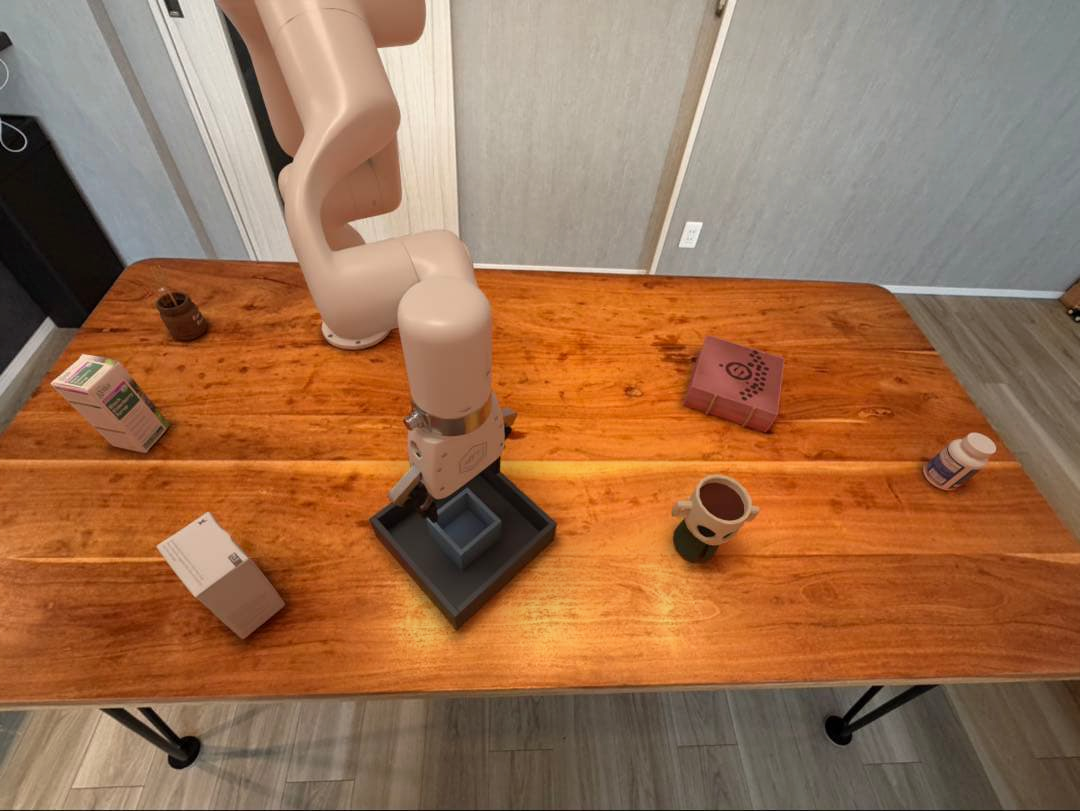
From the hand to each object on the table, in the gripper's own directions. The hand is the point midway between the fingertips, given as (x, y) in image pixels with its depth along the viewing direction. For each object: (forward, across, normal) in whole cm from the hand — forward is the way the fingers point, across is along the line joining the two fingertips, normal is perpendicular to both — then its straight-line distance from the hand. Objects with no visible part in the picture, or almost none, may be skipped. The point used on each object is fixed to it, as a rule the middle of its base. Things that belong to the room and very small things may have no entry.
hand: (460, 489), depth 63 cm
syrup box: (+14, -25, +46) cm, 55 cm away
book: (+13, +53, -12) cm, 56 cm away
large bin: (+13, 0, -1) cm, 13 cm away
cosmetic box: (+13, -25, +11) cm, 31 cm away
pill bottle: (+12, +63, -46) cm, 79 cm away
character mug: (+13, +23, -24) cm, 35 cm away
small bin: (+12, 0, -1) cm, 12 cm away
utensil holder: (+14, -10, +65) cm, 68 cm away
